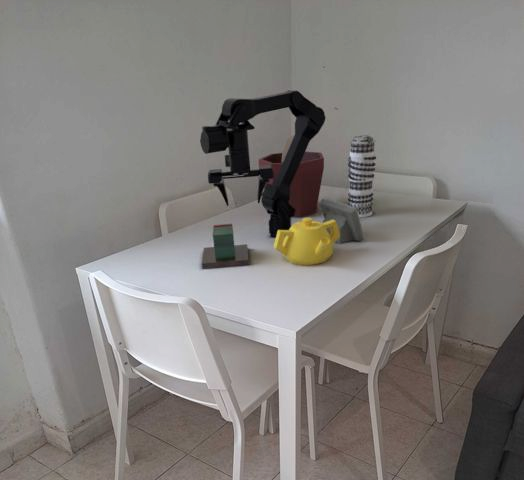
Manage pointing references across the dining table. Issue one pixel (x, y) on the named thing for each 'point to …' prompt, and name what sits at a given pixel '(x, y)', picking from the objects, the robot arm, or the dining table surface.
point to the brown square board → (239, 259)
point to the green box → (223, 241)
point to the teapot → (307, 241)
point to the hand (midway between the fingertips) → (243, 204)
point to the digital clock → (343, 220)
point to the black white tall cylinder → (361, 174)
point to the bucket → (300, 179)
